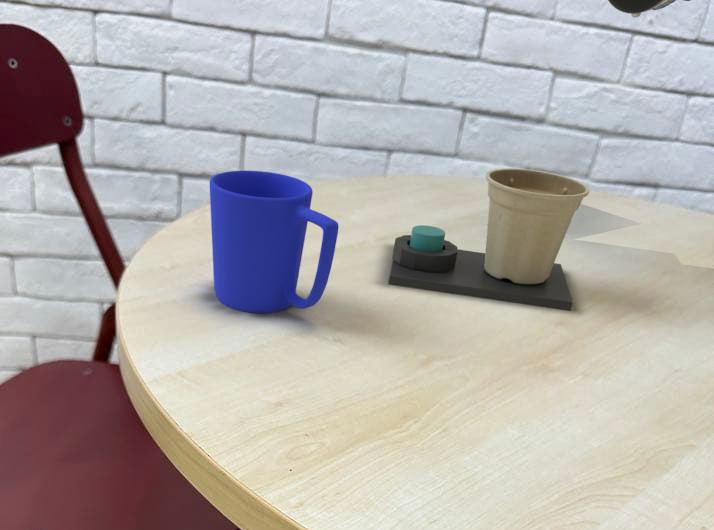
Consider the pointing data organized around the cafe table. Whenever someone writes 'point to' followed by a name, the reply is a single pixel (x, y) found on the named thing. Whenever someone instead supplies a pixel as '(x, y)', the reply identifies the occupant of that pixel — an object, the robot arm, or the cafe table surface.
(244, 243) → the mug
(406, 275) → the dark grey piece
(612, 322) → the cafe table surface
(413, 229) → the button
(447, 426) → the cafe table surface
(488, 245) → the flower pot
